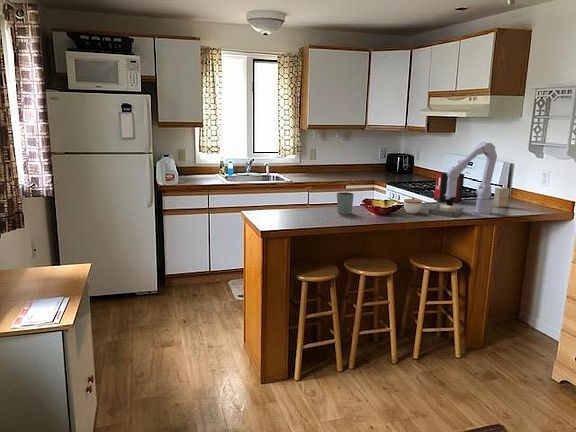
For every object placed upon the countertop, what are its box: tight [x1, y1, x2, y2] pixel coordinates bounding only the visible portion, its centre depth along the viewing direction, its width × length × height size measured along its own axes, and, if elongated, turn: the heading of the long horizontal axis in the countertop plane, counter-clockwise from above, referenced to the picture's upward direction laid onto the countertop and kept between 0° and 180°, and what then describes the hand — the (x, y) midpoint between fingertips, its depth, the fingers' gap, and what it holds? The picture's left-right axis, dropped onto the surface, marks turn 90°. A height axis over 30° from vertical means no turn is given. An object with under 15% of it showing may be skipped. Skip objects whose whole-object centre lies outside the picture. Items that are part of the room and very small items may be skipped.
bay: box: [428, 204, 464, 218], centre depth 299 cm, size 15×20×3 cm
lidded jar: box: [403, 197, 423, 214], centre depth 297 cm, size 11×11×9 cm
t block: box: [439, 204, 458, 212], centre depth 299 cm, size 10×10×4 cm
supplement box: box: [492, 186, 510, 208], centre depth 326 cm, size 8×5×13 cm, turn 108°
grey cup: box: [336, 191, 354, 215], centre depth 288 cm, size 10×10×12 cm
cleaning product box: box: [433, 171, 465, 203], centre depth 342 cm, size 16×9×20 cm, turn 98°
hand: (449, 209), depth 305 cm, fingers closed
